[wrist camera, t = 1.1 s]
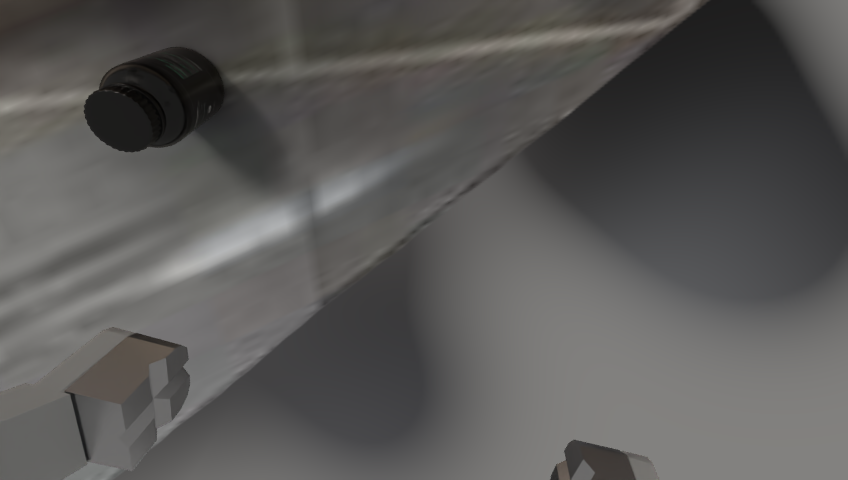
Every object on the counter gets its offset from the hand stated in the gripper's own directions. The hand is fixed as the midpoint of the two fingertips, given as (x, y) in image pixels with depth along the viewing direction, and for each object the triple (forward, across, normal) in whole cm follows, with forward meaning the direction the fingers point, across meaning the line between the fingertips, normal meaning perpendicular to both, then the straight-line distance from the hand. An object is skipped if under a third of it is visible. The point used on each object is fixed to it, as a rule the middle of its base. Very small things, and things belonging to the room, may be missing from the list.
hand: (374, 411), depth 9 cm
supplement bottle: (+35, +26, +3) cm, 44 cm away
